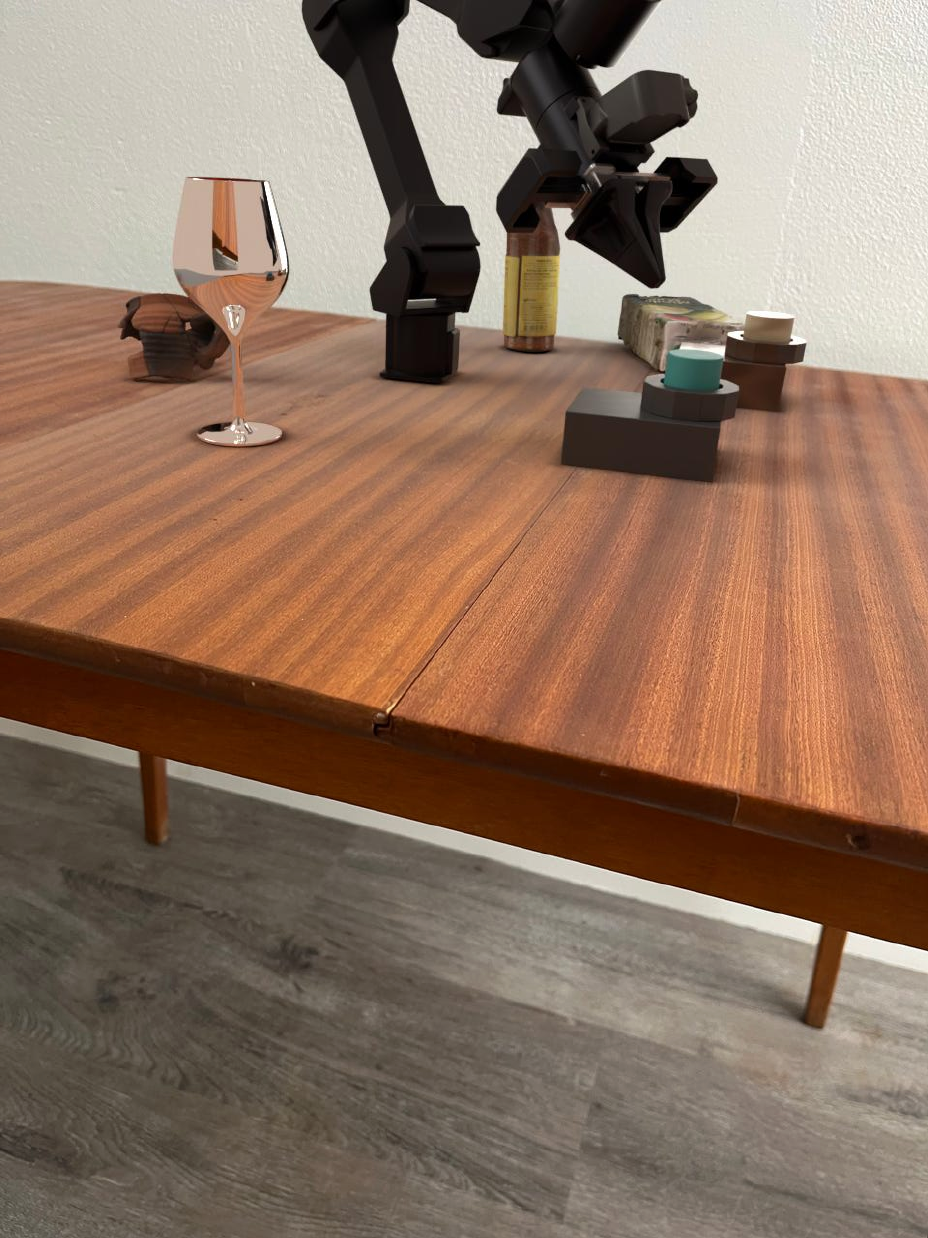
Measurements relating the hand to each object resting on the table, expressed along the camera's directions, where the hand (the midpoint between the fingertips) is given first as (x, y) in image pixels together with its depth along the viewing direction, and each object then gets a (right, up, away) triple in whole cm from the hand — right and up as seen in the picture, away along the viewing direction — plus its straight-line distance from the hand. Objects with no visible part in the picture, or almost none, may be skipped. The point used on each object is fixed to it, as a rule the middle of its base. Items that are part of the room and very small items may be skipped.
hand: (658, 284), depth 73 cm
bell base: (+11, -3, +25) cm, 27 cm away
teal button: (+2, -8, 0) cm, 8 cm away
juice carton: (+10, +6, +43) cm, 44 cm away
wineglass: (-32, -11, +3) cm, 34 cm away
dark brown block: (-1, -12, +3) cm, 13 cm away
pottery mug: (-42, -1, +22) cm, 47 cm away
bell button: (+14, +2, +22) cm, 26 cm away
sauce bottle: (-7, +7, +43) cm, 44 cm away
